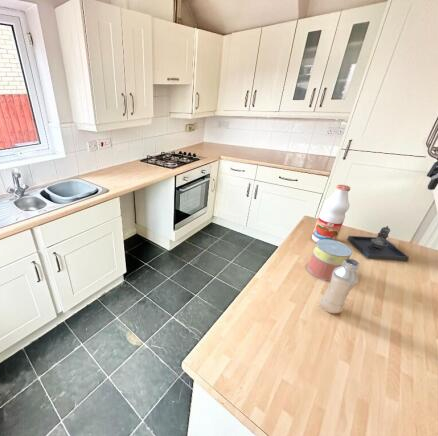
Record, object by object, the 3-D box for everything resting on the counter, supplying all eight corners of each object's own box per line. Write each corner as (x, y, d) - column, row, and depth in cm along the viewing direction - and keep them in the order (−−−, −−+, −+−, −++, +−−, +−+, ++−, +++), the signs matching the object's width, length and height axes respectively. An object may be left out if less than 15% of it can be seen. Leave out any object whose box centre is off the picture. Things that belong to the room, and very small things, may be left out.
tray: (382, 241, 116) (384, 237, 115) (407, 261, 103) (409, 257, 102) (347, 239, 118) (349, 235, 117) (367, 258, 105) (369, 254, 104)
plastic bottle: (344, 310, 81) (369, 263, 72) (335, 319, 78) (360, 272, 69) (323, 298, 86) (344, 252, 77) (314, 306, 83) (334, 260, 73)
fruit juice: (335, 239, 118) (357, 185, 105) (333, 248, 112) (357, 192, 99) (312, 233, 124) (331, 181, 110) (309, 241, 117) (329, 187, 104)
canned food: (321, 260, 105) (330, 236, 99) (347, 277, 95) (359, 252, 90) (301, 265, 102) (309, 242, 96) (326, 283, 92) (337, 258, 86)
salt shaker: (364, 244, 113) (375, 222, 107) (377, 244, 113) (389, 222, 107) (374, 252, 108) (386, 229, 102) (387, 252, 108) (400, 229, 102)
